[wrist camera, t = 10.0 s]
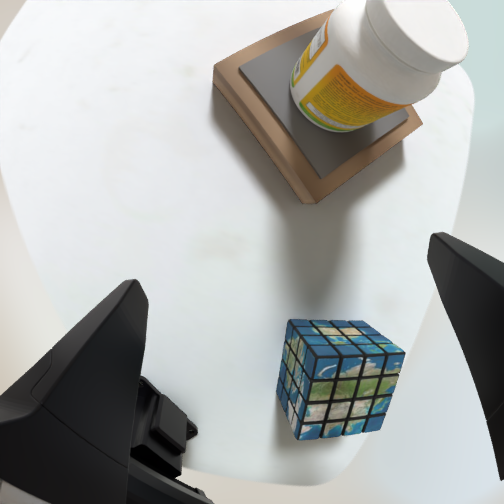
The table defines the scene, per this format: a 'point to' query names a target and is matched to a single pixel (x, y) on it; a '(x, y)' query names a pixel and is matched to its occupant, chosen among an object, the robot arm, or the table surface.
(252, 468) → the table surface
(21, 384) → the robot arm
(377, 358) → the puzzle
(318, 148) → the base block
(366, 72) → the supplement bottle
